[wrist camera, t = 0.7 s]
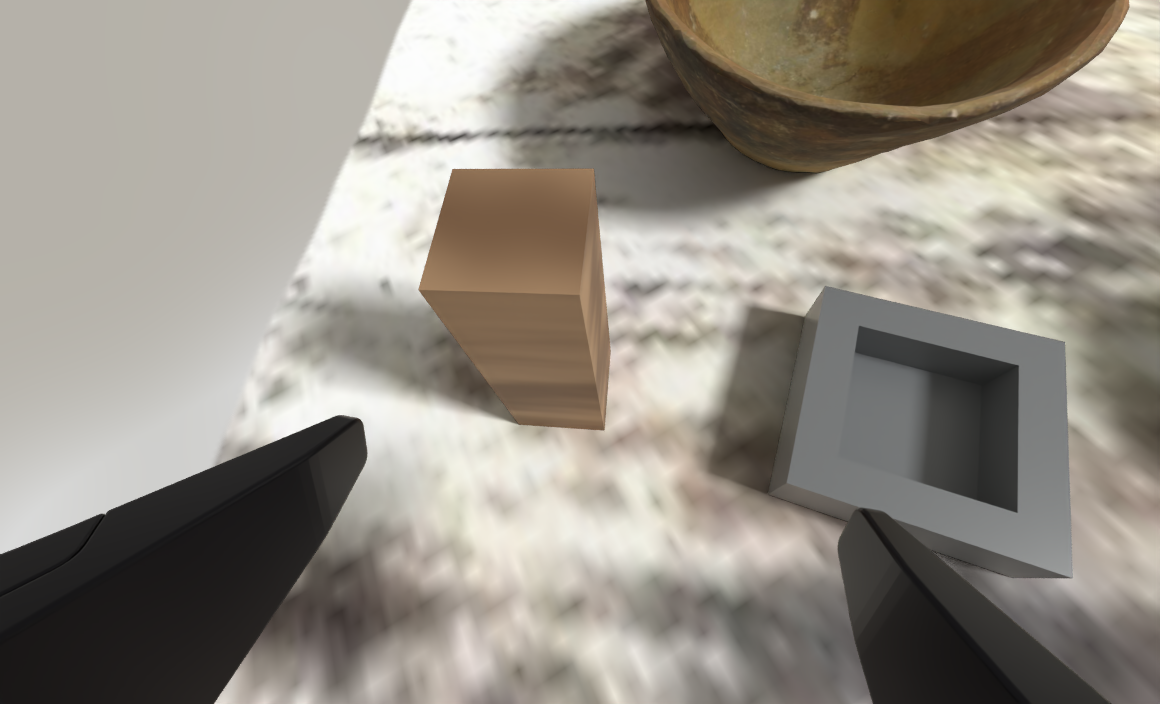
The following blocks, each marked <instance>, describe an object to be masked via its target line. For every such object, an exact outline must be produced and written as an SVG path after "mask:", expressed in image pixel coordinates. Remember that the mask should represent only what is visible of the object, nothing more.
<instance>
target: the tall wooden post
mask: <svg viewBox="0 0 1160 704" xmlns="http://www.w3.org/2000/svg"><path fill="white" fill-rule="evenodd" d="M419 291H420V293H421V294H422V295H423V297H424V298H425V299H426V301H427V302H428V303H429V305H430V306H431V307H432V309H433V310H434V311H435V313H436V314H437V315H438V317H439V318H440V319H441V321H442V322H443V323H444V325H445V326H446V327H447V329H448V330H449V331H450V333H451V334H452V335H453V337H454V338H455V339H456V341H457V342H458V344H459V345H460V346H461V348H462V349H463V350H464V352H465V353H466V354H467V356H468V357H469V358H470V360H471V361H472V362H473V364H474V365H475V366H476V368H477V369H478V370H479V372H480V373H481V374H482V376H483V377H484V378H485V380H486V381H487V382H488V384H489V385H490V386H491V388H492V389H493V390H494V392H495V393H496V394H497V396H498V397H499V399H500V400H501V401H502V403H503V404H504V405H505V407H506V408H507V409H508V411H509V412H510V413H511V415H512V416H513V417H514V419H515V420H516V421H517V423H518V424H519V425H533V426H548V427H562V428H577V429H591V430H604V429H605V416H606V404H607V391H608V378H609V365H610V352H611V350H610V339H609V328H608V317H607V306H606V296H605V285H604V274H603V263H602V252H601V241H600V230H599V219H598V208H597V197H596V186H595V175H594V169H452V173H451V176H450V180H449V183H448V187H447V191H446V194H445V198H444V201H443V205H442V208H441V212H440V215H439V219H438V222H437V226H436V229H435V233H434V236H433V240H432V244H431V247H430V251H429V254H428V258H427V261H426V265H425V268H424V272H423V275H422V279H421V282H420V286H419Z"/></svg>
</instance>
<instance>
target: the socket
mask: <svg viewBox="0 0 1160 704" xmlns="http://www.w3.org/2000/svg"><path fill="white" fill-rule="evenodd" d="M768 495H771V496H774V497H777V498H780V499H783V500H786V501H789V502H792V503H795V504H798V505H801V506H803V507H806V508H809V509H812V510H815V511H818V512H821V513H824V514H827V515H830V516H833V517H836V518H839V519H842V520H844V521H847V522H848V521H849V519H850V517H851V515H852V513H853V512H854V510H856V509H857V508H860V507H863V508H869V509H875V510H880V511H883V512H885V513H887V514H888V515H889V516H890V517H892V518H893V519H894V520H895V521H896V522H897V523H899V524H900V525H901V526H902V527H903V528H905V529H906V530H907V531H908V532H909V533H910V534H912V535H913V536H914V537H915V538H916V539H918V540H919V541H920V542H921V543H922V544H923V545H925V546H926V547H927V548H928V549H929V550H932V551H935V552H938V553H941V554H944V555H947V556H950V557H953V558H956V559H959V560H962V561H965V562H968V563H970V564H973V565H976V566H979V567H982V568H985V569H988V570H991V571H994V572H997V573H1000V574H1003V575H1006V576H1009V577H1012V578H1073V569H1072V539H1071V509H1070V479H1069V450H1068V420H1067V390H1066V360H1065V342H1062V341H1058V340H1054V339H1049V338H1045V337H1041V336H1037V335H1032V334H1028V333H1024V332H1020V331H1015V330H1011V329H1007V328H1002V327H998V326H994V325H990V324H985V323H981V322H977V321H973V320H968V319H964V318H960V317H955V316H951V315H947V314H943V313H938V312H934V311H930V310H926V309H921V308H917V307H913V306H909V305H904V304H900V303H896V302H891V301H887V300H883V299H879V298H874V297H870V296H866V295H862V294H857V293H853V292H849V291H844V290H840V289H836V288H832V287H827V286H825V287H824V289H823V290H822V292H821V293H820V295H819V296H818V298H817V299H816V301H815V302H814V304H813V305H812V307H811V308H810V310H809V311H808V313H807V314H806V316H805V319H804V324H803V328H802V333H801V338H800V343H799V347H798V352H797V357H796V362H795V366H794V371H793V376H792V381H791V386H790V390H789V395H788V400H787V405H786V409H785V414H784V419H783V424H782V429H781V433H780V438H779V443H778V448H777V452H776V457H775V462H774V467H773V472H772V476H771V481H770V486H769V491H768Z"/></svg>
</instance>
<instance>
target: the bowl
mask: <svg viewBox="0 0 1160 704" xmlns="http://www.w3.org/2000/svg"><path fill="white" fill-rule="evenodd" d="M646 4H647V7H648V10H649V14H650V17H651V20H652V23H653V25H654V27H655V29H656V31H657V33H658V36H659V38H660V41H661V43H662V46H663V48H664V50H665V52H666V54H667V57H668V58H669V60H670V62H671V63H672V65H673V67H674V69H675V70H676V72H677V74H678V76H679V77H680V79H681V81H682V83H683V85H684V86H685V88H686V90H687V91H688V93H689V94H690V96H691V97H692V98H693V100H694V101H695V102H696V103H697V105H698V106H699V107H700V108H701V110H702V111H703V112H704V113H705V114H706V115H707V116H708V117H709V118H710V120H711V121H712V122H713V123H714V124H715V125H716V126H717V127H718V128H719V130H720V131H721V132H722V133H723V135H724V136H725V138H726V139H727V140H728V141H729V142H730V144H731V145H732V146H734V147H735V148H736V149H737V150H738V151H740V152H741V153H742V154H744V155H746V156H747V157H749V158H750V159H752V160H754V161H757V162H759V163H761V164H764V165H766V166H769V167H771V168H774V169H777V170H783V171H790V172H814V173H818V172H824V171H828V170H831V169H834V168H838V167H842V166H845V165H849V164H852V163H856V162H859V161H862V160H864V159H867V158H870V157H872V156H875V155H878V154H880V153H884V152H889V151H891V150H894V149H897V148H900V147H902V146H906V145H909V144H913V143H917V142H920V141H924V140H928V139H932V138H935V137H939V136H942V135H945V134H947V133H950V132H953V131H955V130H958V129H961V128H964V127H967V126H970V125H972V124H975V123H978V122H981V121H984V120H987V119H989V118H992V117H995V116H997V115H1000V114H1002V113H1005V112H1007V111H1010V110H1012V109H1014V108H1016V107H1018V106H1020V105H1022V104H1024V103H1027V102H1029V101H1031V100H1033V99H1035V98H1037V97H1040V96H1042V95H1044V94H1045V93H1047V92H1048V91H1050V90H1051V89H1053V88H1054V87H1056V86H1057V85H1059V84H1060V83H1061V82H1063V81H1064V80H1066V79H1067V78H1068V77H1070V76H1071V75H1073V74H1074V73H1076V72H1077V71H1079V70H1080V69H1081V68H1083V67H1084V66H1085V65H1086V64H1088V63H1089V62H1090V61H1091V60H1093V59H1094V58H1095V57H1096V56H1097V55H1099V54H1100V53H1101V52H1102V51H1103V50H1104V48H1105V47H1106V46H1107V44H1108V43H1109V41H1110V40H1111V38H1112V37H1113V35H1114V34H1115V33H1116V31H1117V30H1118V28H1119V27H1120V25H1121V23H1122V22H1123V20H1124V18H1125V16H1126V14H1127V11H1128V9H1129V0H646Z"/></svg>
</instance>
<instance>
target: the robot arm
mask: <svg viewBox="0 0 1160 704" xmlns="http://www.w3.org/2000/svg"><path fill="white" fill-rule="evenodd" d="M366 460H367V445H366V439H365V432H364V426H363V422H362V421H361V420H360V419H359V418H355V417H350V416H344V415H338V416H335V417H332V418H330V419H328V420H325V421H323V422H320V423H318V424H316V425H313V426H311V427H308V428H306V429H304V430H301V431H299V432H296V433H294V434H292V435H289V436H287V437H284V438H282V439H280V440H277V441H275V442H272V443H270V444H268V445H265V446H263V447H260V448H258V449H256V450H253V451H251V452H248V453H246V454H244V455H241V456H239V457H236V458H234V459H232V460H229V461H227V462H224V463H222V464H220V465H217V466H215V467H212V468H210V469H208V470H205V471H203V472H200V473H198V474H196V475H193V476H191V477H188V478H186V479H184V480H181V481H179V482H176V483H174V484H172V485H169V486H167V487H164V488H162V489H159V490H157V491H155V492H152V493H150V494H148V495H145V496H143V497H140V498H138V499H136V500H133V501H131V502H128V503H126V504H124V505H121V506H119V507H116V508H114V509H111V510H109V511H108V512H107V513H106V515H105V514H99V515H97V516H94V517H92V518H90V519H87V520H85V521H83V522H80V523H78V524H76V525H73V526H71V527H68V528H66V529H63V530H61V531H58V532H56V533H53V534H51V535H48V536H46V537H43V538H41V539H38V540H36V541H33V542H31V543H28V544H26V545H23V546H21V547H19V548H16V549H13V550H11V551H8V552H5V553H3V554H0V704H214V703H215V701H216V700H217V698H218V697H219V695H220V694H221V692H222V691H223V689H224V688H225V686H226V685H227V683H228V682H229V681H230V679H231V678H232V676H233V675H234V673H235V672H236V670H237V669H238V667H239V666H240V664H241V663H242V661H243V660H244V658H245V657H246V655H247V654H248V652H249V651H250V649H251V648H252V646H253V645H254V643H255V642H256V640H257V639H258V637H259V636H260V634H261V633H262V631H263V630H264V628H265V627H266V625H267V624H268V623H269V621H270V620H271V618H272V617H273V615H274V614H275V612H276V611H277V609H278V608H279V606H280V605H281V603H282V602H283V600H284V599H285V597H286V596H287V594H288V593H289V591H290V590H291V588H292V587H293V585H294V584H295V582H296V581H297V579H298V578H299V576H300V575H301V573H302V572H303V570H304V569H305V567H306V566H307V565H308V563H309V562H310V560H311V559H312V557H313V556H314V554H315V553H316V551H317V550H318V548H319V547H320V545H321V543H322V542H323V540H324V539H325V537H326V536H327V534H328V532H329V530H330V529H331V527H332V525H333V523H334V521H335V520H336V518H337V516H338V514H339V512H340V510H341V508H342V506H343V505H344V503H345V501H346V499H347V497H348V495H349V493H350V491H351V490H352V488H353V486H354V484H355V482H356V480H357V478H358V476H359V475H360V473H361V471H362V469H363V467H364V465H365V463H366ZM838 556H839V562H840V567H841V572H842V578H843V583H844V588H845V594H846V599H847V604H848V610H849V615H850V620H851V626H852V630H853V635H854V640H855V644H856V647H857V651H858V655H859V658H860V662H861V665H862V669H863V672H864V675H865V679H866V682H867V685H868V689H869V692H870V695H871V699H872V702H873V704H1111V703H1110V702H1109V701H1108V700H1107V699H1105V698H1104V697H1103V696H1102V695H1101V694H1100V693H1098V692H1097V691H1096V690H1095V689H1094V688H1092V687H1091V686H1090V685H1089V684H1088V683H1087V682H1085V681H1084V680H1083V679H1082V678H1081V677H1079V676H1078V675H1077V674H1076V673H1075V672H1074V671H1072V670H1071V669H1070V668H1069V667H1068V666H1066V665H1065V664H1064V663H1063V662H1062V661H1061V660H1059V659H1058V658H1057V657H1056V656H1055V655H1053V654H1052V653H1051V652H1050V651H1049V650H1048V649H1046V648H1045V647H1044V646H1043V645H1042V644H1040V643H1039V642H1038V641H1037V640H1036V639H1035V638H1033V637H1032V636H1031V635H1030V634H1029V633H1027V632H1026V631H1025V630H1024V629H1023V628H1022V627H1020V626H1019V625H1018V624H1017V623H1016V622H1014V621H1013V620H1012V619H1011V618H1010V617H1009V616H1007V615H1006V614H1005V613H1004V612H1003V611H1001V610H1000V609H999V608H998V607H997V606H996V605H994V604H993V603H992V602H991V601H990V600H988V599H987V598H986V597H985V596H984V595H983V594H981V593H980V592H979V591H978V590H977V589H975V588H974V587H973V586H972V585H971V584H970V583H968V582H967V581H966V580H965V579H964V578H962V577H961V576H960V575H959V574H958V573H957V572H955V571H954V570H953V569H952V568H951V567H949V566H948V565H947V564H946V563H945V562H944V561H942V560H941V559H940V558H939V557H938V556H936V555H935V554H934V553H933V552H932V551H931V550H929V549H928V548H927V547H926V546H925V545H923V544H922V543H921V542H920V541H919V540H918V539H916V538H915V537H914V536H913V535H912V534H910V533H909V532H908V531H907V530H906V529H905V528H903V527H902V526H901V525H900V524H899V523H897V522H896V521H895V520H894V519H893V518H892V517H890V516H889V515H888V514H887V513H885V512H883V511H880V510H875V509H869V508H863V507H860V508H857V509H856V510H854V512H853V513H852V515H851V517H850V519H849V521H848V523H847V525H846V527H845V528H844V530H843V532H842V534H841V536H840V538H839V542H838Z"/></svg>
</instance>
